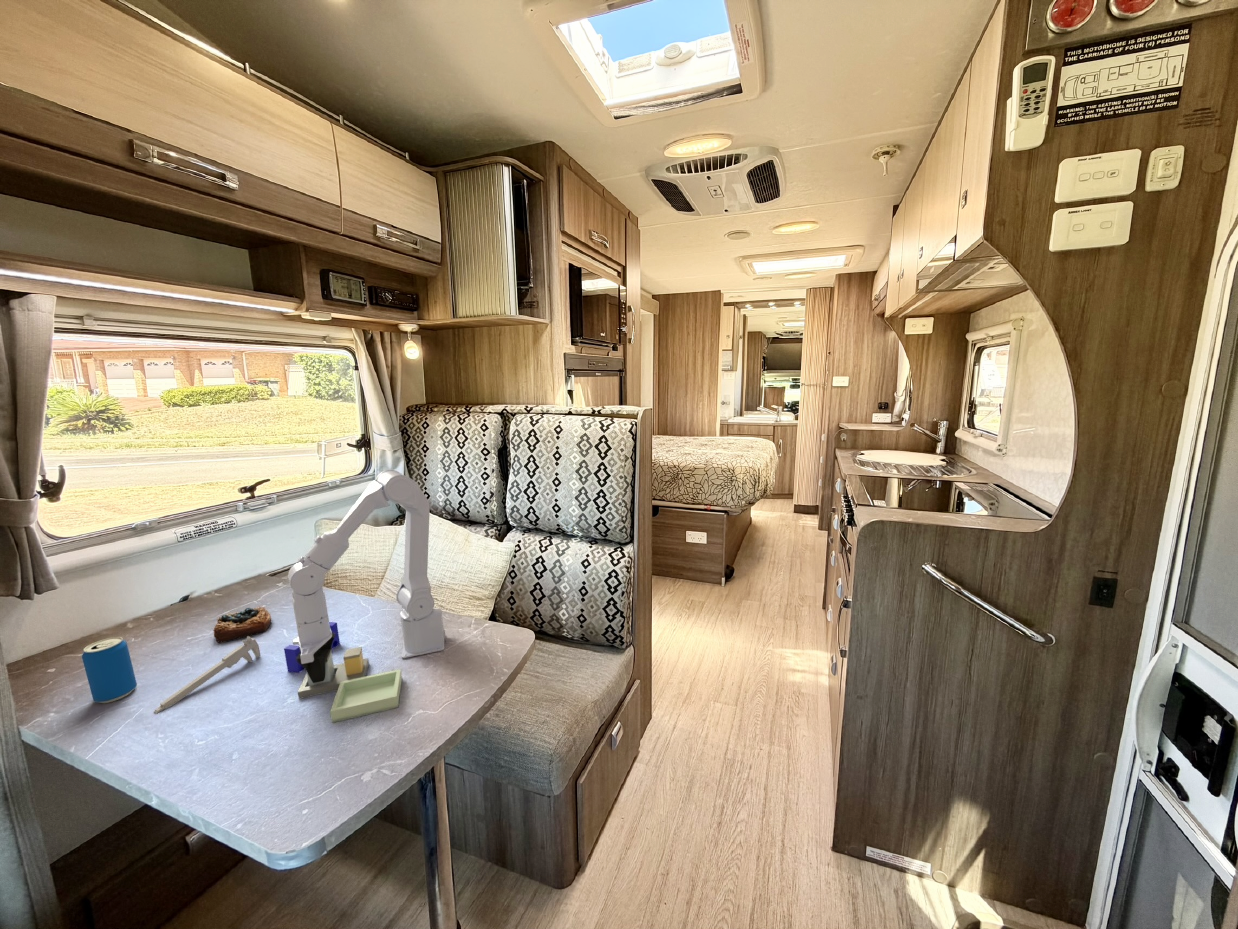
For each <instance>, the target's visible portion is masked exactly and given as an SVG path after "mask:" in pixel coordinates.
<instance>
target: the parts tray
mask: <svg viewBox="0 0 1238 929" xmlns="http://www.w3.org/2000/svg"><path fill="white" fill-rule="evenodd" d="M402 682H403V675H402V669H401V668H399V669H395V670H390V671H385V672H380V673H376V674H375V673H374V674H371V675H366V677H361V678H356V679H351V680H347V681H342V682H340V685H339V688H338V690H336V693H335V697H334V700H333V703H332V706H331V709H330V710H329V711H330V713H329V714H330V717H331V718H330V719H331V723H332V724H334V723H337V722H341V721H346V720H350V719H354V718H359V717H363V716H367V715H372V714H376V713H381V712H384V711H388V710H389V711H390V710H392V709H393V710H394V709H398V708H399V704H400V696H401V690H402V689H401V688H402Z"/></svg>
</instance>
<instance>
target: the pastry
mask: <svg viewBox="0 0 1238 929" xmlns="http://www.w3.org/2000/svg"><path fill="white" fill-rule="evenodd" d="M216 620H217V623H216V624H215V625H214V627H213V630H212V631H213V637H214V638H215V639H216V642H217V643H218V644H221V643H226V642H231V641H235V640H239V639H242V638H247V636H248V637H251V636H254V635H257V634H258V635H259V634H261V633H264V632H266V631H267V630H268V629H269V627H270V625H271V621H272V616H271V613H270V612H269V611H268V609H266V608H265V606H258V607H254V608H252V607H245V609H244V610H241V611H238V612H229V613H225V614H223V615H221V616H220V617H219V618H217V619H216Z"/></svg>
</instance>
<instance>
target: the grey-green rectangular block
mask: <svg viewBox="0 0 1238 929" xmlns="http://www.w3.org/2000/svg"><path fill="white" fill-rule="evenodd" d="M327 650H328V649H327ZM322 651H323V650H322ZM332 653H333V649H332V650H331V649H329V651H328V654H327V657H326V664H325V679H324V681H321V682H316V683H313V682H312V680H311V679H310V677H309V675H308V673H307V671H306V670H305V671H306V674H307V678H308V684H309V686H312V685H317V684H321V683H326V682H331V681H333V679H334V677H335V671H334V665H335V664H334V660H333V658H334V657H333V655H332Z"/></svg>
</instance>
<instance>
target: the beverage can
mask: <svg viewBox="0 0 1238 929" xmlns="http://www.w3.org/2000/svg"><path fill="white" fill-rule="evenodd" d="M81 659H82V662H83V667H84V670H85V674H86V678H87V682H88V685H89V689H90V693H91V697H92V700H93V702H95V703H101V704H109V703H112V702H115V701H118V700H121V699H123V698H125V697H127V696H129V695H130V694H131V693H133V690H135V688H137V686H138V683H137V680H136V674H135V671H134V667H133V663H132V658H131V655H130V650H129V646H128V643H127V641H125V640H124V638H123V637H121V636H113V637H107V638H105V639H104V638H103V639H101V640H98V641H95V642H92V643H90V644H88V645H87V646H86V647H84V648H83V653H82V655H81Z"/></svg>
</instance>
